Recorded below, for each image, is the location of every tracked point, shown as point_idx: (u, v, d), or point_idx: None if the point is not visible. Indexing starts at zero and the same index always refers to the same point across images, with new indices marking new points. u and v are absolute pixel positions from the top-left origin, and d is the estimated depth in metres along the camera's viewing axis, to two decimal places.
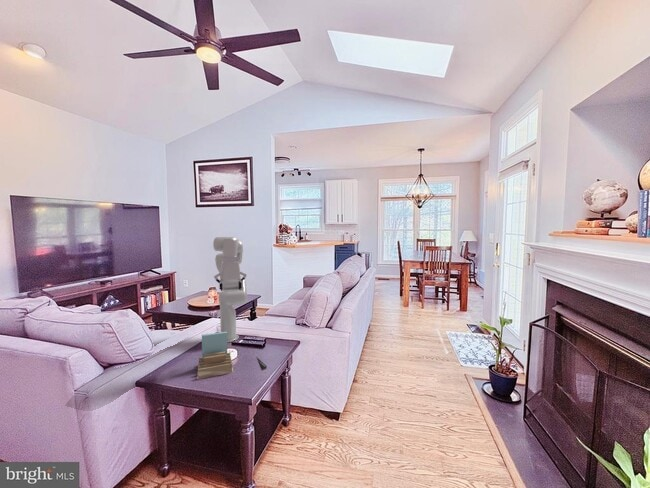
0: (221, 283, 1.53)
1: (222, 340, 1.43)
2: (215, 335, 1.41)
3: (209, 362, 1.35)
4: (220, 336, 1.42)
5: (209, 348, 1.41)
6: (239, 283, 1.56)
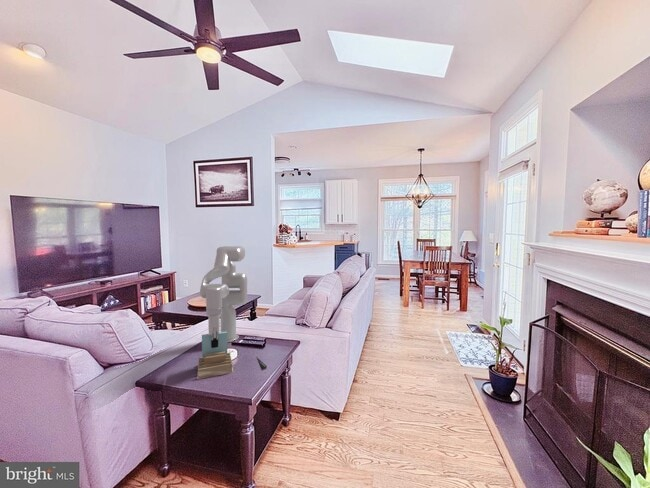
0: (216, 339, 1.41)
1: (222, 340, 1.43)
2: None
3: (209, 362, 1.35)
4: (220, 336, 1.42)
5: (209, 348, 1.41)
6: None
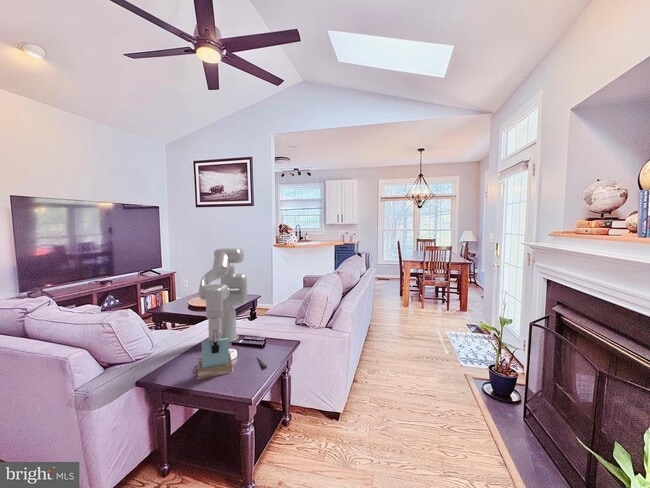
0: None
1: (223, 347, 1.34)
2: None
3: None
4: (221, 343, 1.34)
5: (210, 356, 1.32)
6: None
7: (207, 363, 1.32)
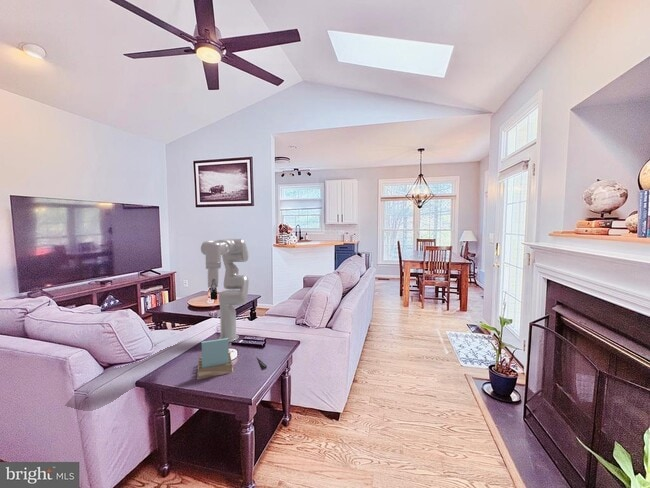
0: None
1: (223, 347, 1.34)
2: (216, 342, 1.33)
3: None
4: (221, 343, 1.34)
5: (210, 356, 1.32)
6: None
7: (207, 363, 1.32)
